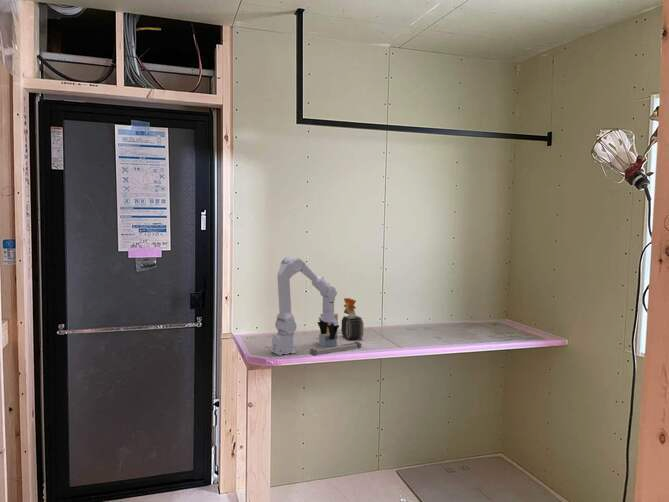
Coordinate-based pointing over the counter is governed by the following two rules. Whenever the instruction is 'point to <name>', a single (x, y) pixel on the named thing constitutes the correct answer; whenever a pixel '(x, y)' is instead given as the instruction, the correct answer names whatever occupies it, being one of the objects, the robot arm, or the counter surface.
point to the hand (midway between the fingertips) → (328, 337)
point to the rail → (335, 348)
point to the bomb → (351, 322)
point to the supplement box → (330, 324)
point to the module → (327, 340)
